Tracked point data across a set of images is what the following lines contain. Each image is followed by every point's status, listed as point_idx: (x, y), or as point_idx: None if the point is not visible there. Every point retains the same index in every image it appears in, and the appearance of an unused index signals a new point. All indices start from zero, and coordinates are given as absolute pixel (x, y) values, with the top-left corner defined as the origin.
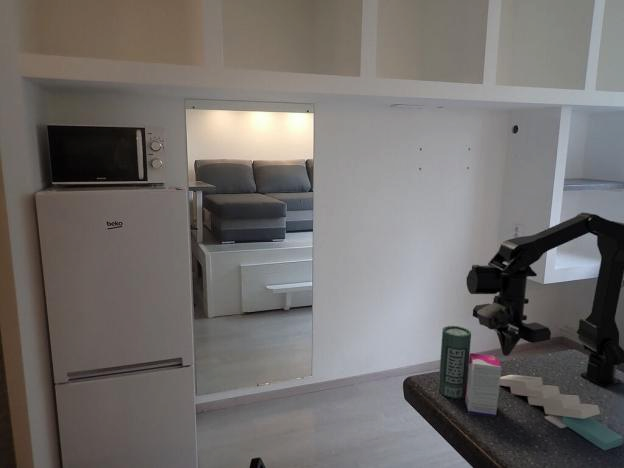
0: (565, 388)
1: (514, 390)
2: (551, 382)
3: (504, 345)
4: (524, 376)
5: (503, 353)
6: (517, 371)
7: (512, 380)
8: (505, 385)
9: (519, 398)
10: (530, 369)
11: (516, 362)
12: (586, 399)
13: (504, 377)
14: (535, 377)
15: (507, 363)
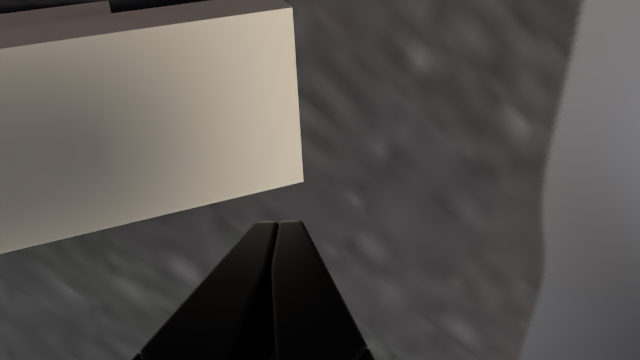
0: (130, 352)
1: (61, 13)
2: None
3: (236, 320)
4: (137, 205)
5: (289, 229)
6: (391, 278)
7: (53, 38)
8: (167, 7)
9: (27, 6)
10: (378, 351)
11: (486, 347)
12: (6, 355)
13: (245, 75)
14: (7, 239)
15: (507, 298)
